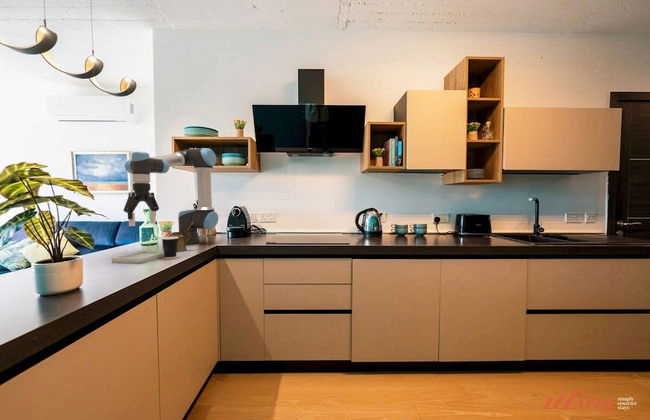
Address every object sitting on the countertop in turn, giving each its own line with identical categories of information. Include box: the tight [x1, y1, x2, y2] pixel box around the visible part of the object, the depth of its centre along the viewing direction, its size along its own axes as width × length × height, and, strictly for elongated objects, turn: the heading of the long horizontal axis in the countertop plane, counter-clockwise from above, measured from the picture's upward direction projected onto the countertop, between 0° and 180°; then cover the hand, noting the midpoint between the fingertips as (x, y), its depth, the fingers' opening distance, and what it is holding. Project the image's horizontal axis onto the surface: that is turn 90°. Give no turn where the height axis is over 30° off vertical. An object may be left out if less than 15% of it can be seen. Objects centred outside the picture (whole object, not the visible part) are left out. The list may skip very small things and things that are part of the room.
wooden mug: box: [170, 221, 194, 253], centre depth 165 cm, size 9×14×18 cm, turn 112°
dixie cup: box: [160, 236, 179, 260], centre depth 145 cm, size 8×8×11 cm
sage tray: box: [111, 249, 165, 265], centre depth 143 cm, size 20×16×2 cm
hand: (143, 224), depth 143 cm, fingers open, 13 cm apart
